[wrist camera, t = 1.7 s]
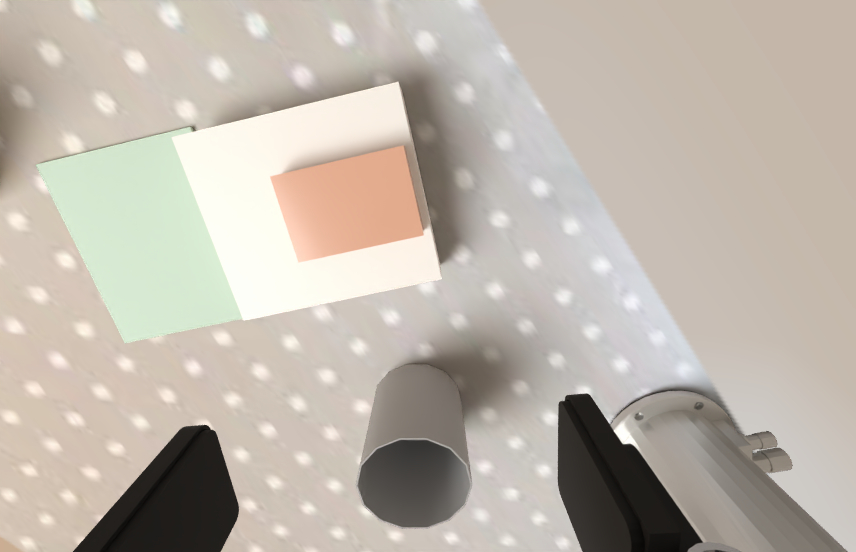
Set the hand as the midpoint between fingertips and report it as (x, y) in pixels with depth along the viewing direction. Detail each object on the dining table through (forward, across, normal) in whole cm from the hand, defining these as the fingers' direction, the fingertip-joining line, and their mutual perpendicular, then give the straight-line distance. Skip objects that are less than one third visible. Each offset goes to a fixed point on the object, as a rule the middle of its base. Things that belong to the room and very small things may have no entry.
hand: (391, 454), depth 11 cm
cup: (+24, +1, +15) cm, 29 cm away
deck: (+24, +7, -4) cm, 25 cm away
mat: (+24, +22, -2) cm, 32 cm away
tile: (+20, +4, -5) cm, 21 cm away
